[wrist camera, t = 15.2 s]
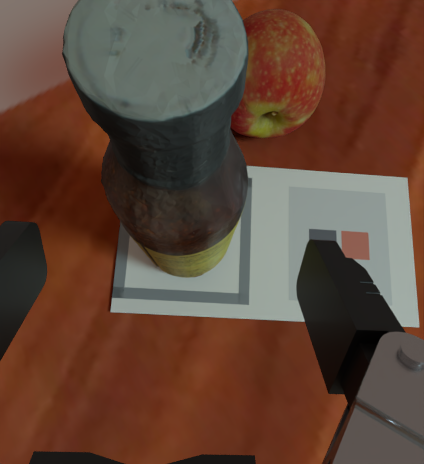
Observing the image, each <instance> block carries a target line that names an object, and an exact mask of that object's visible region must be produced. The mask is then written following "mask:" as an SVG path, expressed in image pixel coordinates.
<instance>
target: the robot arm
mask: <svg viewBox="0 0 424 464" xmlns="http://www.w3.org/2000/svg"><path fill="white" fill-rule="evenodd" d="M46 276H47V264H46V259H45V255H44V250H43V245H42V240H41V236H40V231H39V228H38V226H37V224H36V223H34V222H19V221H5V222H4V223H3V224H2V225H1V226H0V361H1V359H2V357H3V355H4V354H5V352H6V350H7V348H8V347H9V345H10V343H11V341H12V340H13V338H14V336H15V335H16V333H17V331H18V329H19V328H20V326H21V324H22V322H23V321H24V319H25V317H26V316H27V314H28V312H29V310H30V309H31V307H32V305H33V303H34V302H35V300H36V298H37V297H38V295H39V293H40V291H41V290H42V288H43V286H44V284H45V281H46ZM373 283H374V282H373V280H372V278H371V277H370V275H369V274H368V272H367V270H366V269H365V268H364V267H362V266H361V265H360V264H359V263H358V262H356V261H355V260H354V259H353V258H346V257H345V255H344V253H343V251H342V250H341V248H340V246H339V245H338V243H337V242H336V241H332V240H315V239H310V240H309V241H308V243H307V245H306V249H305V252H304V256H303V260H302V263H301V267H300V271H299V274H298V278H297V284H296V293H297V299H298V302H299V305H300V308H301V311H302V314H303V317H304V320H305V323H306V326H307V329H308V332H309V335H310V339H311V342H312V345H313V348H314V351H315V354H316V357H317V360H318V363H319V366H320V369H321V372H322V375H323V378H324V381H325V384H326V387H327V390H328V393H329V394H345V397H346V400H347V402H348V404H347V406H346V408H345V410H344V413H343V415H342V418H341V420H340V422H339V425H338V427H337V429H336V432H335V434H334V437H333V439H332V441H331V444H330V446H329V448H328V451H327V453H326V456H325V458H324V460H323V463H322V464H424V340H422V339H420V338H418V337H416V336H414V335H411V334H408V333H406V332H405V331H404V329H403V328H402V326H401V324H400V323H399V321H398V320H397V318H396V317H395V315H394V313H393V312H392V310H391V309H390V307H389V305H388V304H387V302H386V301H385V299H384V297H383V296H382V295H380V291H379V290H378V288H377V286H376V285H375V284H373ZM29 464H124V463H121V462H118V461H115V460H111V459H108V458H105V457H102V456H99V455H96V454H93V453H90V452H36V451H34V452H33V455H32V457H31V460H30V463H29ZM169 464H256V462H255V456H252V455H199V456H195V457H191V458H187V459H184V460H180V461H176V462H173V463H169Z"/></svg>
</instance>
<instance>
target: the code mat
mask: <svg viewBox="0 0 424 464" xmlns="http://www.w3.org/2000/svg"><path fill="white" fill-rule="evenodd" d="M247 173H248V190H247V197H246V202H245V206H244V209H243V212H242V215H241V217H240V220H239V222H238V225H237V227H236V229H235V232H234V234H233V237H232V239H231V242H230V245H229V247H228V249H227V252H226V254H225V255H224V257H223V259H222V260H221V261H220V262H219V263H218V264H217V265H216V266H215V267H214V268H213V269H211V270H210V271H208V272H206V273H204V274H203V275H201V276H197V277H190V278H185V277H177V276H173V275H170V274H167V273H166V272H164V271H162V270H161V269H160V267H156V266H155V264H154V263H153V262H152V261H151V260H150V259H149V258H148V256H147V255H146V254H145V253H144V252H143V250H142V249H141V248H140V247H139V246H138V244H137V243H136V242H135V241H134V240H133V239H132V237H131V236H130V235H129V234H128V233H127V231H126V230H125V228H124V227H123V225H122V224H121V221H120V230H119V239H118V248H117V257H116V266H115V275H114V284H113V293H112V303H111V312H121V313H141V314H161V315H181V316H201V317H221V318H241V319H262V320H282V321H302V322H305V320H304V317H303V314H302V311H301V308H300V305H299V302H298V299H297V293H296V284H297V278H298V274H299V271H300V267H301V263H302V260H303V256H304V252H305V249H306V245H307V243H308V241H309V240H310V239H315V240H332V241H336V242H337V243H338V245H339V246H340V248H341V250H342V251H343V253H344V255H345V257H346V258H353V259H354V260H355V261H356V262H358V263H359V264H360V265H361V266H362V267H364V268H365V269H366V270H367V272H368V274H369V275H370V277H371V278H372V280H373V282H374V283H373V284H375V285H376V286H377V288H378V290H379V291H380V295H382V296H383V297H384V299H385V301H386V302H387V304H388V305H389V307H390V309H391V310H392V312H393V313H394V315H395V317H396V318H397V320H398V321H399V323H400V324H401V326H403V327H419V317H418V305H417V292H416V280H415V267H414V255H413V243H412V230H411V218H410V205H409V193H408V180H407V178H402V177H388V176H375V175H361V174H348V173H335V172H321V171H308V170H295V169H281V168H268V167H254V166H247Z"/></svg>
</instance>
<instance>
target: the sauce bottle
mask: <svg viewBox="0 0 424 464" xmlns="http://www.w3.org/2000/svg"><path fill="white" fill-rule="evenodd" d="M63 39H64V40H63V41H64V44H63V52H62V55H63V58H64V60H65V63H66V67H67V70H68V74H69V76H70V78H71V80H72V83H73V85H74V87H75V89H76V91H77V93H78V95H79V97H80V99H81V101H82V103H83V106H84V108H85V109H86V111H87V113H88V114H89V115H90V116H91V118H92V120H93V121H94V122H96V123H97V124H98V125H99V126H100V127H101V128H102V129H103V130H104V131H105V132H106V133H107V134H108V136H109V138H110V142H109V145H108V147H107V150H106V152H105V155H104V157H103V163H102V172H101V173H102V179H101V182H102V184H103V186H104V189H105V192H106V196H107V199H108V201H109V203H110V205H111V207H112V208H113V210H114V212H115V214H116V215H117V217H118V218H119V219H120V221H121V224H122V225H123V227H124V228H125V230H126V231H127V233H128V234H129V235H130V236H131V237H132V239H133V240H134V241H135V242H136V243H137V244H138V246H139V247H140V248H141V249H142V250H143V252H144V253H145V254H146V255H147V256H148V258H149V259H150V260H151V261H152V262H153V263H154V264H155V266H156V267H160V269H161V270H162V271H164V272H166V273H167V274H170V275H173V276H177V277H185V278H190V277H197V276H201V275H203V274H204V273H206V272H208V271H210V270H211V269H213V268H214V267H215V266H216V265H217V264H218V263H219V262H220V261H221V260H222V259H223V257H224V255H225V254H226V252H227V249H228V247H229V245H230V242H231V239H232V237H233V234H234V232H235V229H236V227H237V225H238V222H239V220H240V217H241V215H242V212H243V209H244V206H245V202H246V197H247V190H248V173H247V166H246V162H245V159H244V156H243V154H242V152H241V149H240V147H239V146H238V144H237V142H236V140H235V138H234V136H233V134H232V132H231V130H230V126H231V116H232V114H233V113H234V112H235V111H236V109H237V108H238V106H239V104H240V102H241V100H242V97H243V93H244V90H245V81H246V71H247V65H248V39H247V35H246V30H245V26H244V23H243V20H242V18H241V16H240V14H239V12H238V10H237V9H236V7H235V5H234V4H233V2H232V0H79V1H78V2H77V3H76V4H75V6H74V7H73V9H72V11H71V13H70V15H69V18H68V21H67V24H66V27H65V30H64V36H63Z"/></svg>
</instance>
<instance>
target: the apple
mask: <svg viewBox="0 0 424 464" xmlns="http://www.w3.org/2000/svg"><path fill="white" fill-rule="evenodd" d="M243 23H244V26H245V30H246V35H247V39H248V65H247V71H246V81H245V90H244V93H243V97H242V100H241V102H240V104H239V106H238V108H237V109H236V111H235V112H234V113H233V114H232V116H231V126H230V128H232V129H233V130H234V131H236V132H237V133H239V134H241V135H244V136H248V137H256V138H276V137H280V136H284V135H287V134H289V133H290V132H293V131H295V130H296V129H298V128H299V127H300V126H301V125H303V124H304V123H305V122H306V121H307V120H308V118H309V117H310V116H311V115H312V113H313V112H314V110H315V109H316V107H317V105H318V103H319V101H320V99H321V96H322V92H323V88H324V82H325V61H324V55H323V50H322V47H321V44H320V42H319V40H318V38H317V36H316V34H315V32H314V31H313V29H312V28H311V27H310V25H309V24H308V23H307V22H305V21H304V20H303V19H302V18H300V17H299V16H297V15H296V14H294V13H292V12H289V11H286V10H282V9H271V10H265V11H260V12H258V13H255V14H253V15H251V16H249V17H248V18H246V19H244V20H243Z"/></svg>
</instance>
